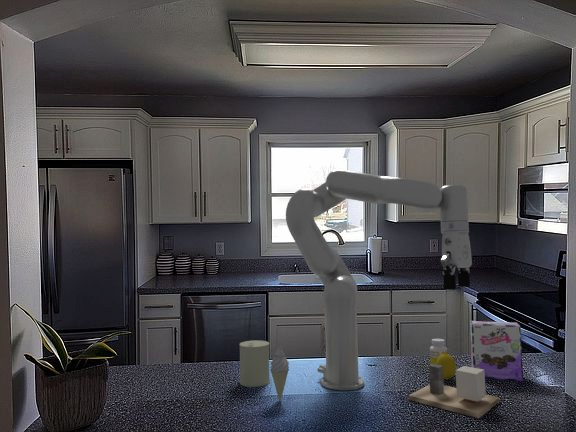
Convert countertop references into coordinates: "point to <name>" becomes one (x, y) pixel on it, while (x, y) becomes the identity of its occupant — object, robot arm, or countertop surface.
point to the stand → (450, 396)
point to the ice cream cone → (279, 371)
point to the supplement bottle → (437, 350)
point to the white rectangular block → (470, 383)
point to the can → (254, 363)
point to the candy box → (497, 349)
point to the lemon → (447, 365)
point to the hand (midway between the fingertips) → (457, 288)
